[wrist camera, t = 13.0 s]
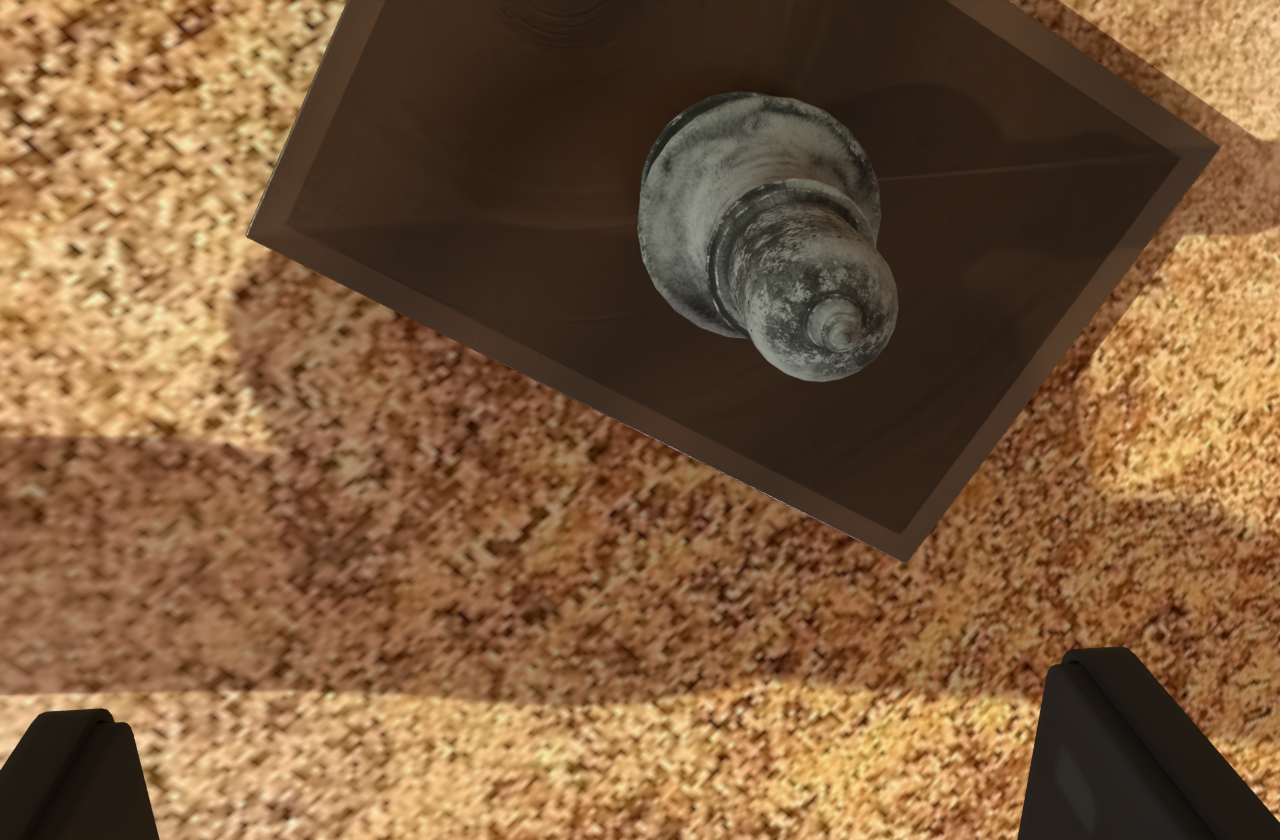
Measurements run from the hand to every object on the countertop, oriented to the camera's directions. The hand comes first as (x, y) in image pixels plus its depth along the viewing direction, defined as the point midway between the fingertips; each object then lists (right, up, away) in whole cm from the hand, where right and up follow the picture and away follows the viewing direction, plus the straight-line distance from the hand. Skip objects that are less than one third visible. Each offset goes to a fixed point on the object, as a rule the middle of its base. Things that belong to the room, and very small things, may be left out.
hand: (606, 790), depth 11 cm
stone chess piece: (+3, +10, +18) cm, 21 cm away
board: (+3, +11, +19) cm, 22 cm away
